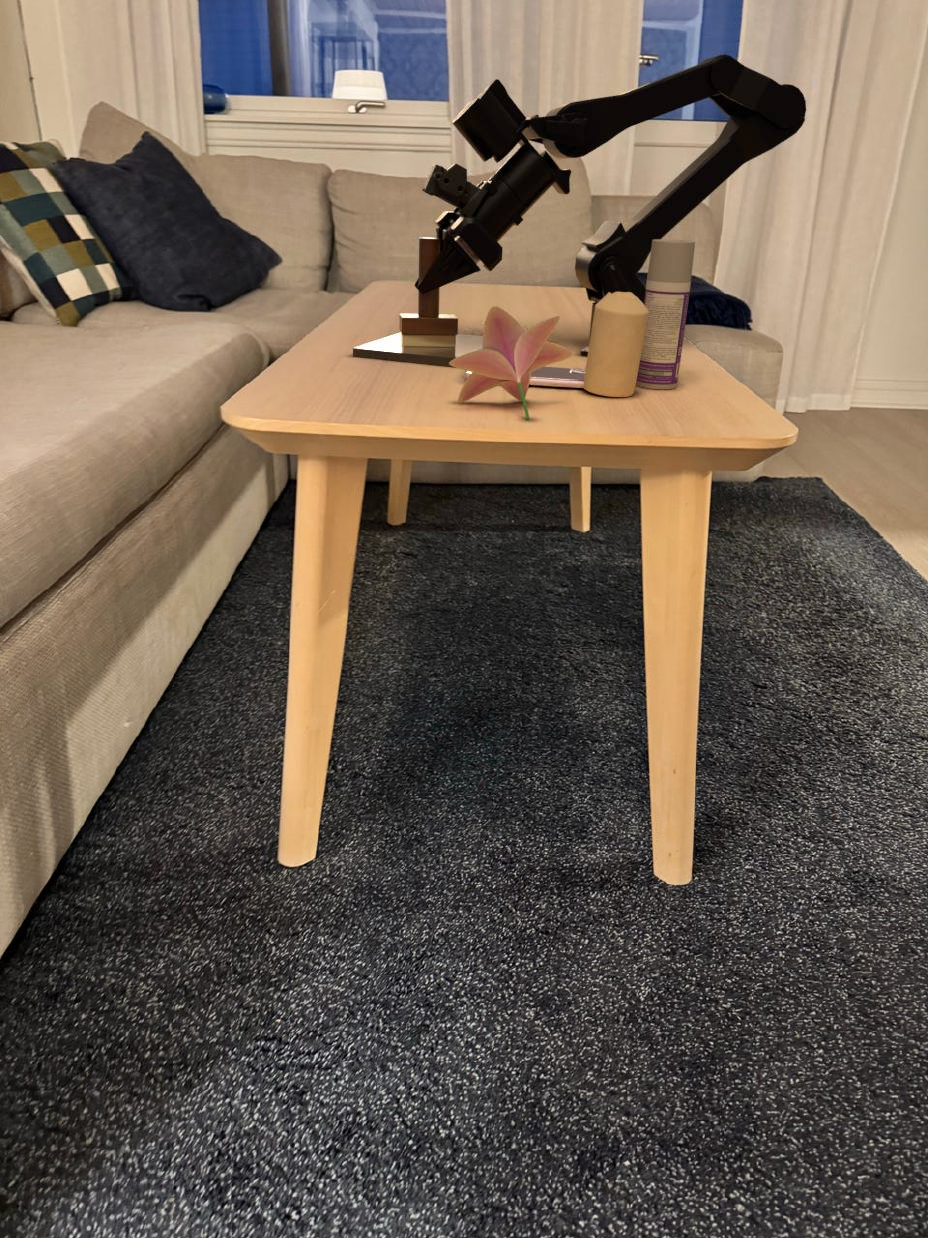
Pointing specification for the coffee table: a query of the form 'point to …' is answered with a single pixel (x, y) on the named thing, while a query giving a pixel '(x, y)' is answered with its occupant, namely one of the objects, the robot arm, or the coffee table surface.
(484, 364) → the lily
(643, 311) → the candle
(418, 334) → the brush
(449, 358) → the panel
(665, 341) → the container
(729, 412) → the coffee table surface
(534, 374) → the mobile phone
